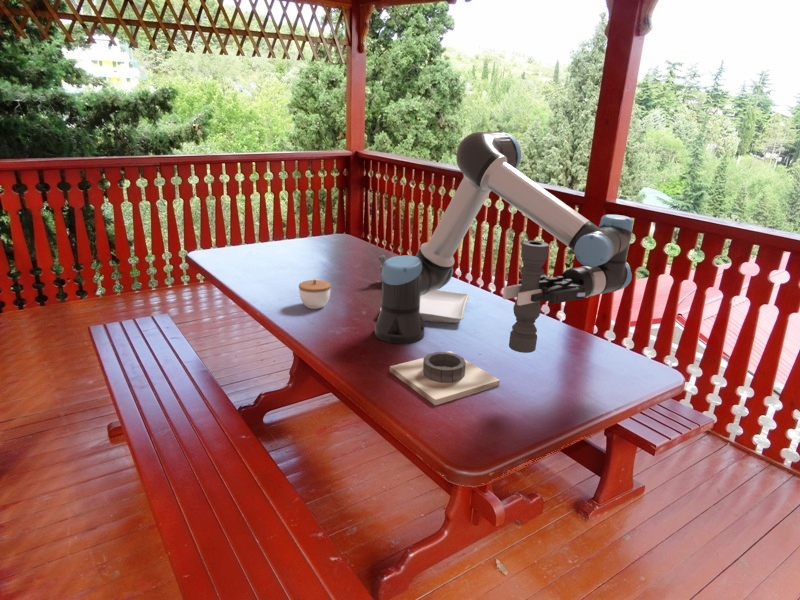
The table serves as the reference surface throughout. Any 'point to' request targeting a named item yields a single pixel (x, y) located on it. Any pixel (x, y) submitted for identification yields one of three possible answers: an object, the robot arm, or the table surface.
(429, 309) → the square plate
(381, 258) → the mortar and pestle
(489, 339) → the table surface
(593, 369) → the table surface
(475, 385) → the socket board
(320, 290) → the lidded jar
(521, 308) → the candle holder
